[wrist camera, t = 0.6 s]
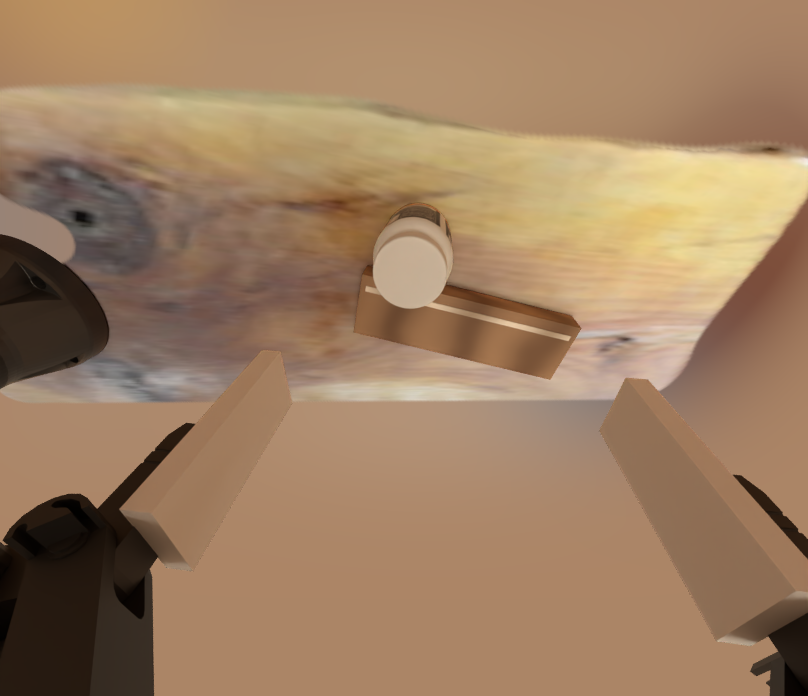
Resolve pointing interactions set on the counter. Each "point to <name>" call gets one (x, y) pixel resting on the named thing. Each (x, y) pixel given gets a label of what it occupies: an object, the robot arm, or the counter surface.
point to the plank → (471, 328)
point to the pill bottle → (413, 256)
